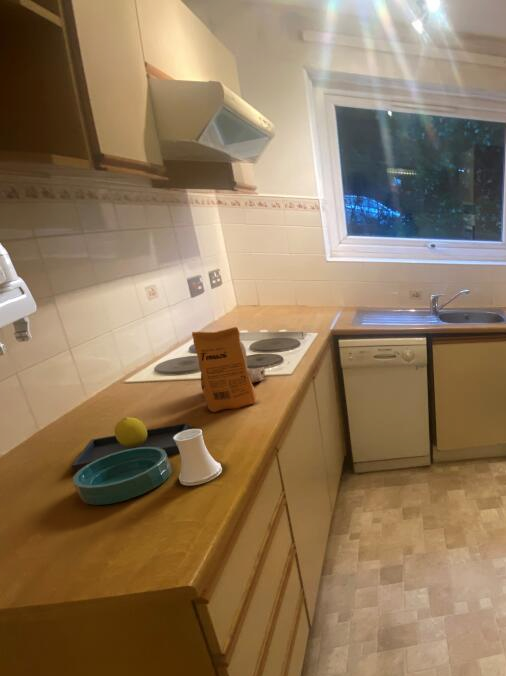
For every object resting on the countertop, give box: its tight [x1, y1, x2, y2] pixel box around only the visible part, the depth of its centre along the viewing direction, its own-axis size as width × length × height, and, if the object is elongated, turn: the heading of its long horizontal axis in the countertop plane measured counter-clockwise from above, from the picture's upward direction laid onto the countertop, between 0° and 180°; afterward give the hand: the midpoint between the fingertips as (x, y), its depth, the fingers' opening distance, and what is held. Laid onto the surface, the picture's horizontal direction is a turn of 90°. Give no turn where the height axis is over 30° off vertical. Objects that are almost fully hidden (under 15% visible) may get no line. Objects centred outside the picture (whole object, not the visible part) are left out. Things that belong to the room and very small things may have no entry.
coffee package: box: [191, 326, 257, 413], centre depth 121 cm, size 10×12×22 cm
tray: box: [70, 422, 192, 474], centre depth 102 cm, size 19×12×2 cm, turn 116°
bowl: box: [72, 447, 173, 506], centre depth 89 cm, size 15×15×4 cm
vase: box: [173, 428, 223, 486], centre depth 91 cm, size 8×8×10 cm
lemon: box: [114, 416, 148, 448], centre depth 100 cm, size 6×6×8 cm
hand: (13, 347), depth 82 cm, fingers open, 8 cm apart
